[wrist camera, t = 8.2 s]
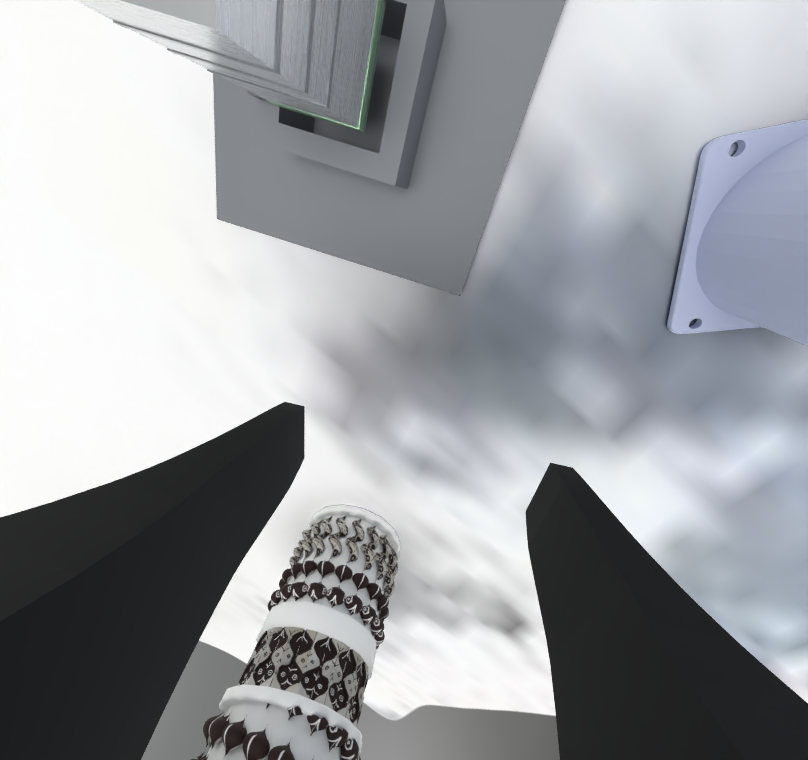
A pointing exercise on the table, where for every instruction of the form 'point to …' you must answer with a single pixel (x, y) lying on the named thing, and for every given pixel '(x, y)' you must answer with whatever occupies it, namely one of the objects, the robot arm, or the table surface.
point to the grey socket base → (394, 143)
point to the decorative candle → (313, 647)
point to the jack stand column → (271, 47)
